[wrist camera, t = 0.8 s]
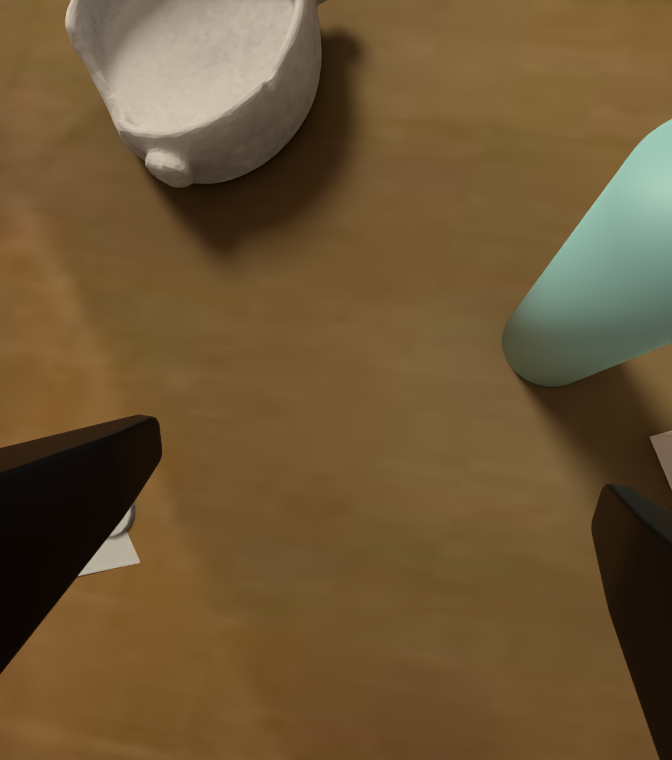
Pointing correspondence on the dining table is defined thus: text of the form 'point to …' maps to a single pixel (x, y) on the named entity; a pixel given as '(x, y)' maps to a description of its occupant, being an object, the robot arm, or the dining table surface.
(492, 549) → the dining table surface
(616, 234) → the teal dowel
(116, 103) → the dish
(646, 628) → the robot arm
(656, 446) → the well block
